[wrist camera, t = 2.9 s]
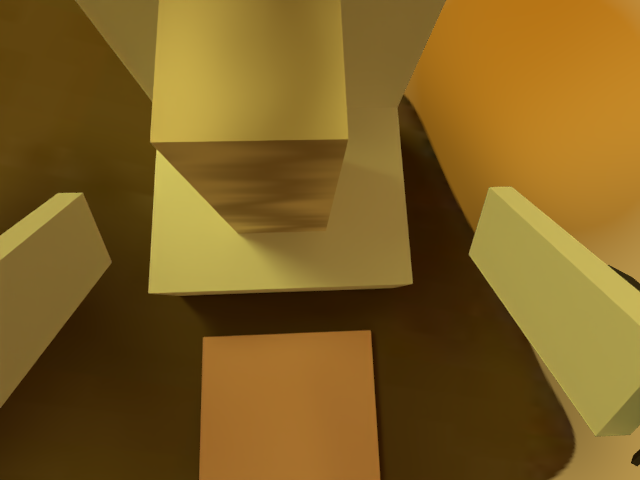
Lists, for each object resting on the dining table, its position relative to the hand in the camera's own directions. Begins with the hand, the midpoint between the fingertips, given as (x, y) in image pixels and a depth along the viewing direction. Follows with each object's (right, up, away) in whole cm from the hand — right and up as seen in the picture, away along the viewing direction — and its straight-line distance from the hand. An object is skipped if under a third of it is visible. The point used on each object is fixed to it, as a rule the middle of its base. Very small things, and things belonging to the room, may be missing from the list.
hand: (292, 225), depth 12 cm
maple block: (-2, +2, +10) cm, 11 cm away
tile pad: (-1, -13, +12) cm, 18 cm away
